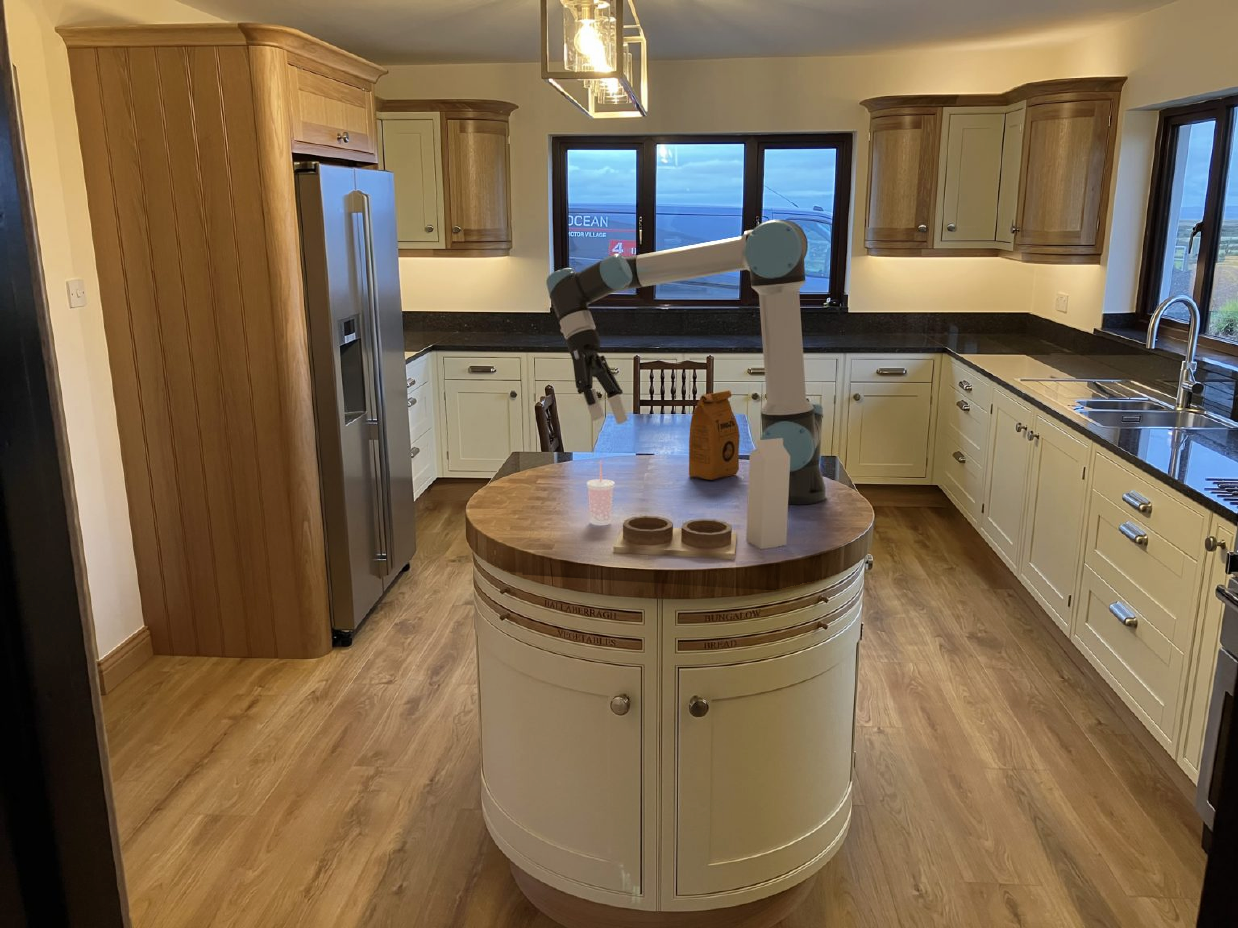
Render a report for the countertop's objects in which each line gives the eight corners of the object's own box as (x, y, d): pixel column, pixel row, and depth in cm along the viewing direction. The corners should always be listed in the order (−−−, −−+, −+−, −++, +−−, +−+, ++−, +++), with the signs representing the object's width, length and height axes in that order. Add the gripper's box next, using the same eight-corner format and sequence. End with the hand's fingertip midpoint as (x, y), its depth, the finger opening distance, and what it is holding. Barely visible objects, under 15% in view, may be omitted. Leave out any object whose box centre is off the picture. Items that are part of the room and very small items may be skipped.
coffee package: (744, 476, 253) (747, 392, 247) (710, 484, 245) (713, 397, 240) (716, 468, 260) (719, 386, 255) (683, 476, 252) (684, 392, 247)
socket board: (737, 536, 206) (737, 517, 204) (734, 559, 192) (734, 539, 191) (624, 530, 209) (624, 511, 208) (613, 552, 196) (613, 532, 195)
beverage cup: (604, 528, 211) (604, 465, 207) (581, 523, 214) (580, 461, 210) (619, 520, 216) (620, 459, 212) (596, 516, 219) (596, 455, 215)
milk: (786, 546, 200) (792, 441, 195) (760, 549, 198) (766, 443, 192) (770, 537, 206) (775, 434, 200) (745, 540, 203) (750, 437, 198)
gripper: (589, 348, 237) (618, 429, 233) (541, 333, 214) (572, 423, 211) (616, 335, 234) (645, 417, 231) (570, 319, 211) (602, 410, 208)
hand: (611, 420), depth 221 cm, fingers open, 13 cm apart
